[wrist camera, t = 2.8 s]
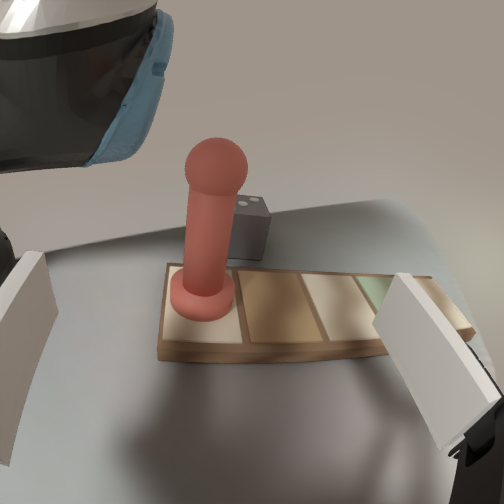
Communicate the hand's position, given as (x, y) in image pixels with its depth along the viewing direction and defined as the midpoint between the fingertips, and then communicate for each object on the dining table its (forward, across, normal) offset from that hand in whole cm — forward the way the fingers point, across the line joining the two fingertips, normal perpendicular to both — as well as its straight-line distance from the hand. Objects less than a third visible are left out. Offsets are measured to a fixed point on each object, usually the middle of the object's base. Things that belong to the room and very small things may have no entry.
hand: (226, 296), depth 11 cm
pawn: (+10, 0, -9) cm, 13 cm away
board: (+10, +12, -10) cm, 19 cm away
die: (+21, +4, -10) cm, 24 cm away
